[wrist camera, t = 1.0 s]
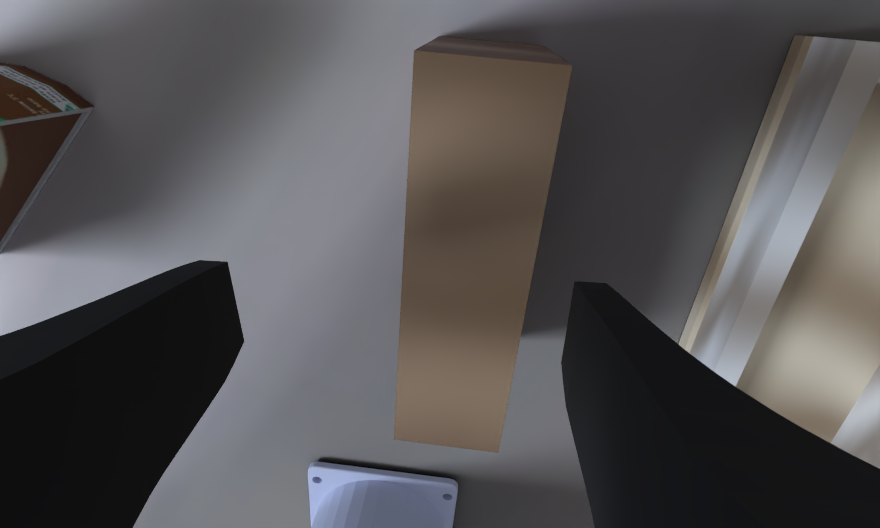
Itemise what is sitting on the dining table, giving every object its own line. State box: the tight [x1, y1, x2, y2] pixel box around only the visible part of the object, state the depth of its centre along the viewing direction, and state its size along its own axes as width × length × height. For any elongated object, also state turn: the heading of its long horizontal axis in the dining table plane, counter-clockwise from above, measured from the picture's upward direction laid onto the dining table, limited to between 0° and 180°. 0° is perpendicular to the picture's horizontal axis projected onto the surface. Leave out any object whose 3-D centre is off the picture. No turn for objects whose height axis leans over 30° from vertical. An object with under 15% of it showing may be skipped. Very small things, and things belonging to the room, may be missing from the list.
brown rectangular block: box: [394, 36, 572, 453], centre depth 17 cm, size 12×4×6 cm, turn 175°
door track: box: [678, 35, 880, 469], centre depth 19 cm, size 18×9×3 cm, turn 175°
